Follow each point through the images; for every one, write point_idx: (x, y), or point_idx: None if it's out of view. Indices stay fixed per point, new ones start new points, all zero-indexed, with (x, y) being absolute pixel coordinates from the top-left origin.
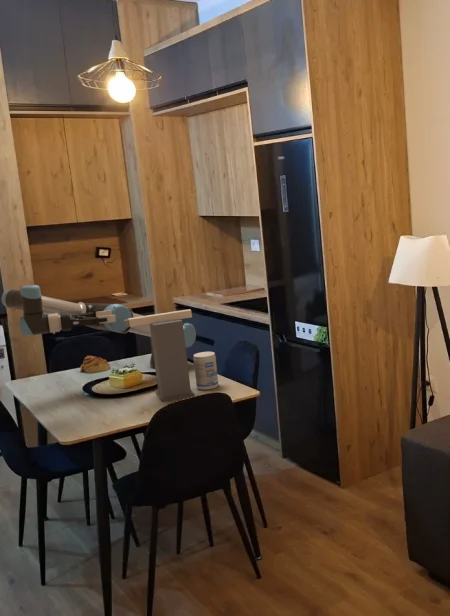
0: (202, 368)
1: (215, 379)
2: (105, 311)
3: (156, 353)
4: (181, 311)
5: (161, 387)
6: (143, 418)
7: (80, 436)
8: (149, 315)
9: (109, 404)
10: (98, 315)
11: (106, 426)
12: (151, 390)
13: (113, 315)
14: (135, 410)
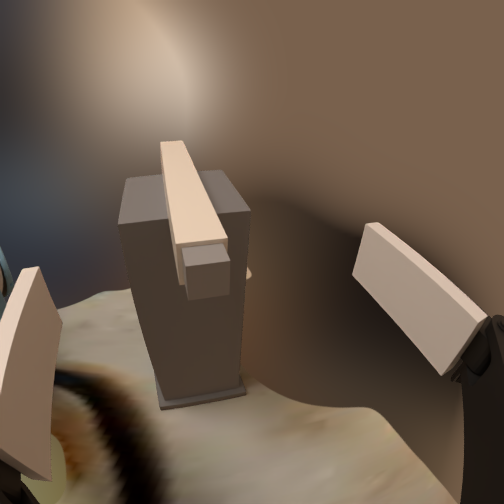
0: None
1: None
2: (22, 321)
3: (228, 310)
4: (181, 147)
5: (238, 373)
6: (356, 412)
7: (449, 498)
8: (173, 186)
9: None
10: (27, 437)
11: (400, 474)
12: (132, 419)
13: (387, 232)
14: (298, 444)
